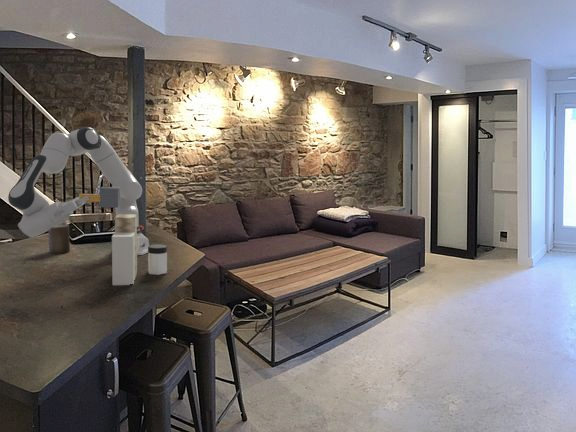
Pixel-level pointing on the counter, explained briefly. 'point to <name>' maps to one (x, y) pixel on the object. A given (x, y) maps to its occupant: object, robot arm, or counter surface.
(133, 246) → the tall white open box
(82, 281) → the counter surface
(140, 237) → the robot arm
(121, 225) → the tall pedestal
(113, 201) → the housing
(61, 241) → the pillar candle
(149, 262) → the jar
